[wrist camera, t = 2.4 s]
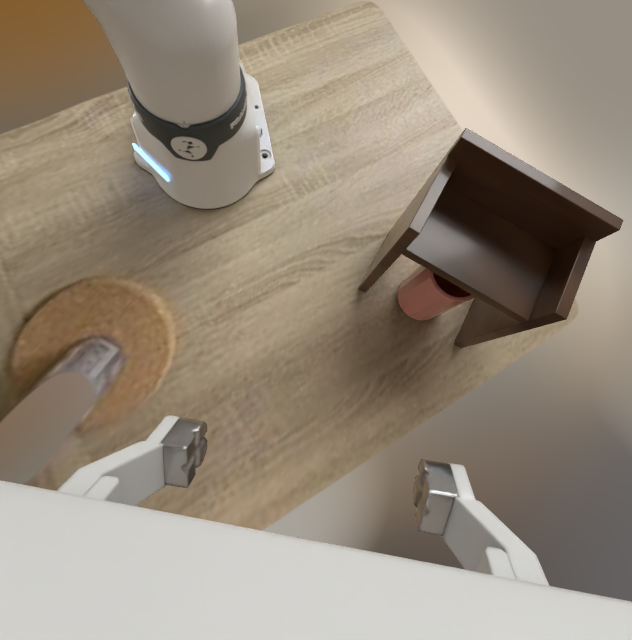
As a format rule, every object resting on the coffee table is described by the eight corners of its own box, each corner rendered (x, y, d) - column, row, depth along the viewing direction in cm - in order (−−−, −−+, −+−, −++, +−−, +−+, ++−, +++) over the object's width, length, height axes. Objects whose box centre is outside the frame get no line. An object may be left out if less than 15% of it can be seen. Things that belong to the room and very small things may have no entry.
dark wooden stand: (461, 348, 52) (590, 313, 31) (357, 288, 52) (419, 213, 31) (488, 288, 54) (623, 219, 34) (389, 231, 54) (466, 127, 34)
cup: (396, 274, 53) (427, 243, 43) (440, 275, 54) (481, 246, 44) (398, 320, 51) (431, 300, 41) (444, 320, 52) (488, 301, 42)
